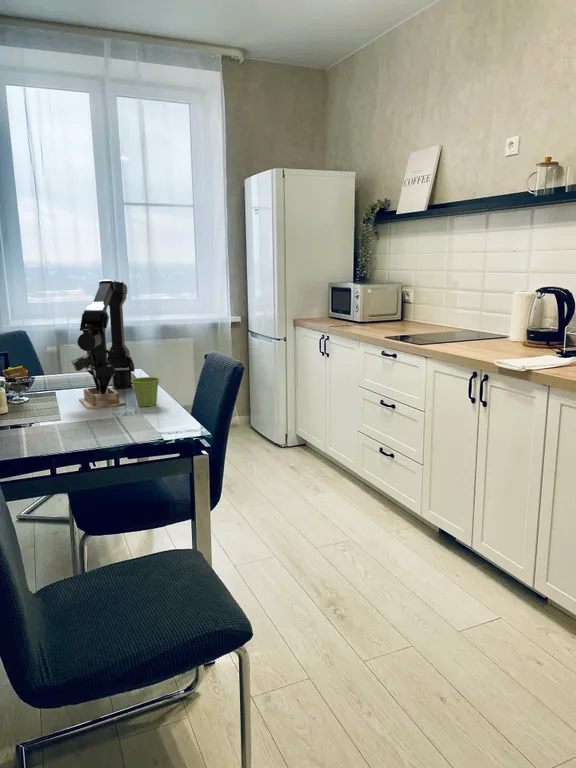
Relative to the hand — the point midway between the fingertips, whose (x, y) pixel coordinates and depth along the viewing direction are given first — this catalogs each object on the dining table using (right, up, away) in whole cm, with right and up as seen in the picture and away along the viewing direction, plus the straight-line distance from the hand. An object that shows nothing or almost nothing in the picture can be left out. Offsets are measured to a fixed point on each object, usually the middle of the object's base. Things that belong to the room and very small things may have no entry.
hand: (100, 392), depth 199 cm
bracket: (0, -3, +1) cm, 3 cm away
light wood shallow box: (0, -3, +1) cm, 4 cm away
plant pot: (+16, -4, -4) cm, 17 cm away
